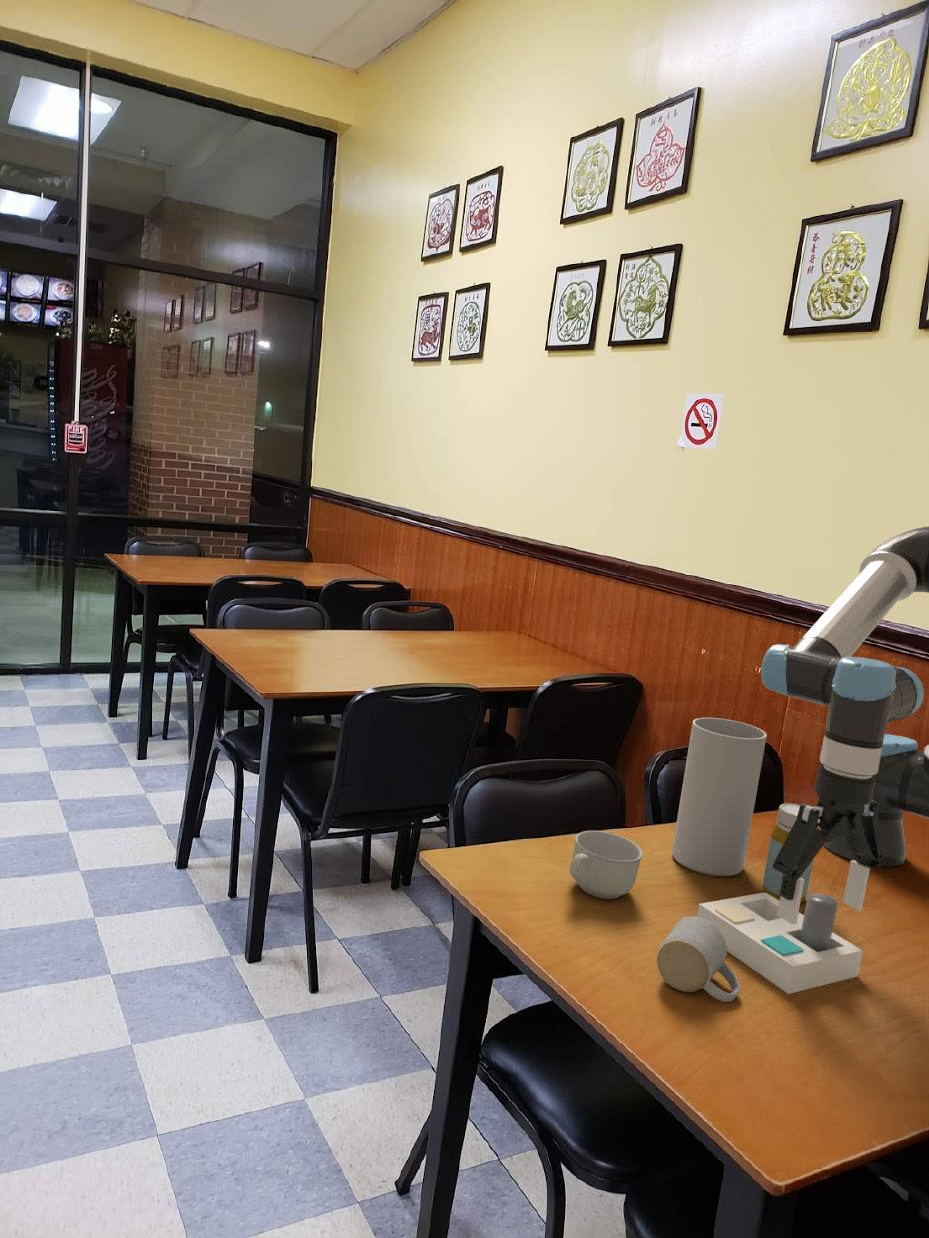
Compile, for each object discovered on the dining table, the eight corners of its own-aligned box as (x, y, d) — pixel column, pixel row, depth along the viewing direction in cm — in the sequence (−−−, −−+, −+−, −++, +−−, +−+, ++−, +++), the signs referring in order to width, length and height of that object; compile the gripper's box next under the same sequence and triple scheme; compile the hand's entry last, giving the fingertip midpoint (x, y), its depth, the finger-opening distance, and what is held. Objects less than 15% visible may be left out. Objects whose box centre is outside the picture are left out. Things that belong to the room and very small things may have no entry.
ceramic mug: (649, 983, 120) (659, 929, 119) (668, 958, 127) (677, 907, 126) (729, 1015, 115) (740, 960, 114) (744, 987, 122) (754, 935, 121)
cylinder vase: (657, 851, 165) (678, 718, 161) (709, 845, 171) (730, 716, 167) (704, 881, 154) (727, 740, 150) (758, 874, 160) (782, 737, 156)
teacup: (604, 871, 154) (610, 826, 152) (649, 899, 145) (657, 852, 143) (539, 884, 146) (546, 837, 144) (583, 915, 137) (591, 865, 136)
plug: (808, 955, 132) (820, 891, 131) (831, 970, 129) (843, 904, 127) (789, 959, 131) (801, 895, 129) (811, 974, 127) (824, 908, 126)
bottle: (808, 908, 148) (824, 821, 146) (764, 900, 150) (779, 813, 147) (801, 890, 155) (817, 807, 153) (759, 882, 156) (774, 799, 154)
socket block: (761, 915, 144) (765, 890, 143) (857, 976, 128) (863, 948, 127) (694, 928, 137) (699, 901, 136) (788, 994, 121) (793, 964, 121)
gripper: (882, 756, 134) (856, 889, 138) (762, 766, 122) (736, 912, 126) (928, 773, 128) (900, 913, 131) (806, 785, 116) (778, 939, 119)
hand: (820, 912), depth 129 cm, fingers open, 13 cm apart
